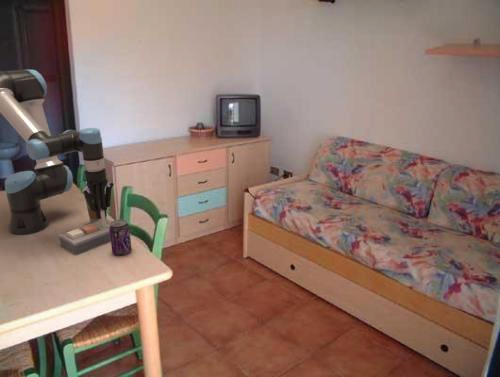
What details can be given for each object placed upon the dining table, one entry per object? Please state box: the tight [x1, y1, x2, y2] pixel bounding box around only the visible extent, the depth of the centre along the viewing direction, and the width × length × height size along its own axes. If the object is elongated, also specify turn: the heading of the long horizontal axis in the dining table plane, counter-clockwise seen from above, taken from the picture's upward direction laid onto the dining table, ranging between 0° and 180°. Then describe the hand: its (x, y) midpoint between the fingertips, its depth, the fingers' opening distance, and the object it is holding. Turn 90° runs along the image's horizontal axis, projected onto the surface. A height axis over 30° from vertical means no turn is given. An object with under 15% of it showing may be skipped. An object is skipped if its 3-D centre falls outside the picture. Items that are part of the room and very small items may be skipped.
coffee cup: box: [84, 190, 107, 224], centre depth 188 cm, size 8×8×15 cm
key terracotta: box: [80, 223, 98, 235], centre depth 173 cm, size 4×4×3 cm
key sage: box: [96, 223, 110, 230], centre depth 178 cm, size 4×4×3 cm
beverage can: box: [109, 218, 132, 256], centre depth 164 cm, size 7×7×12 cm
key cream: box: [66, 228, 84, 240], centre depth 169 cm, size 4×4×3 cm
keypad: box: [58, 220, 111, 256], centre depth 174 cm, size 12×19×5 cm, turn 138°
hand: (102, 225), depth 177 cm, fingers closed
